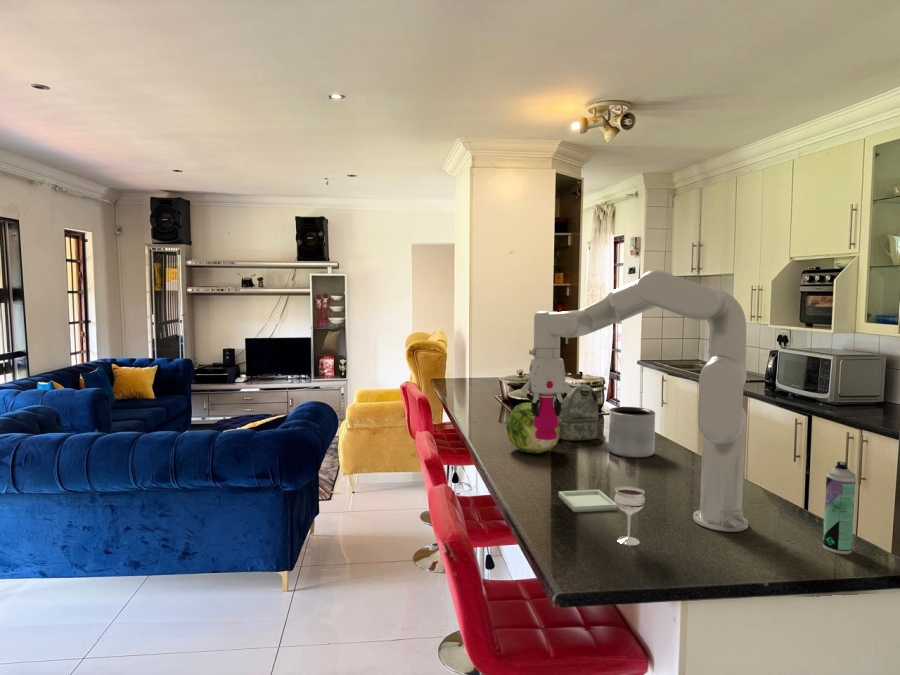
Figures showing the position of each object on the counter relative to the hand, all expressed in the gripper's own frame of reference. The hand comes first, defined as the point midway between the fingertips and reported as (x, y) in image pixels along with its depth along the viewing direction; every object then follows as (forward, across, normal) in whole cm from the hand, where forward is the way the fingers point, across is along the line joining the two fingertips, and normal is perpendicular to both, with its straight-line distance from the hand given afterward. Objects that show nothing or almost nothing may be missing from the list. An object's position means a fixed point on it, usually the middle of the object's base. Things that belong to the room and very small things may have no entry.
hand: (546, 414), depth 171 cm
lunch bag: (+22, +31, +64) cm, 75 cm away
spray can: (+23, +53, -49) cm, 75 cm away
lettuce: (+22, +10, +39) cm, 46 cm away
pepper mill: (+7, 0, 0) cm, 7 cm away
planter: (+23, +44, +34) cm, 60 cm away
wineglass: (+23, +8, -38) cm, 45 cm away
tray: (+22, +8, -13) cm, 27 cm away
